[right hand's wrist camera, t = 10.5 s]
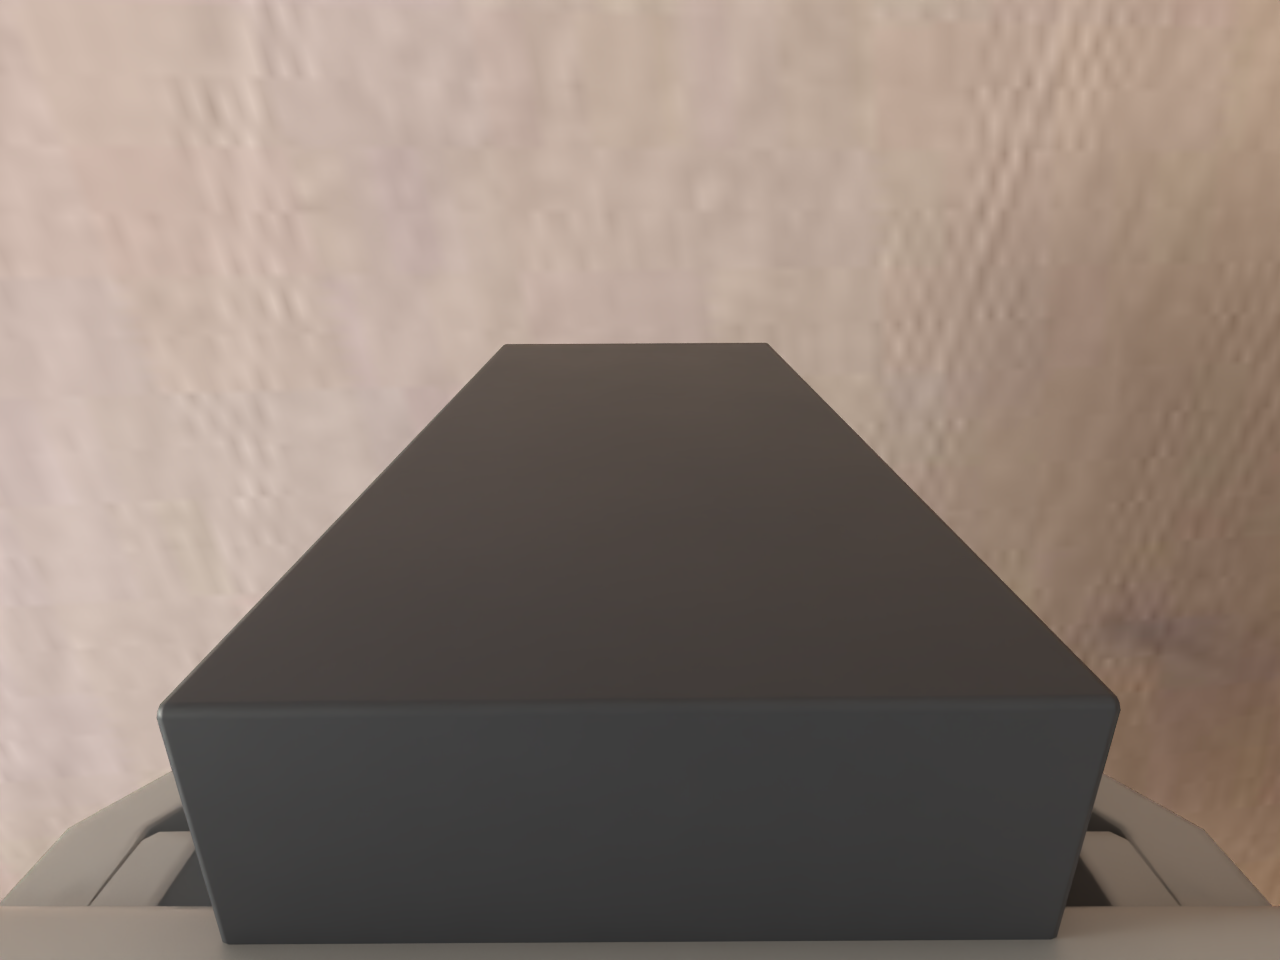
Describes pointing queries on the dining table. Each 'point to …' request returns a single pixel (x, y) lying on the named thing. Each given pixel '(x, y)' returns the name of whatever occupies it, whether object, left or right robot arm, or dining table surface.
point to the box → (638, 687)
